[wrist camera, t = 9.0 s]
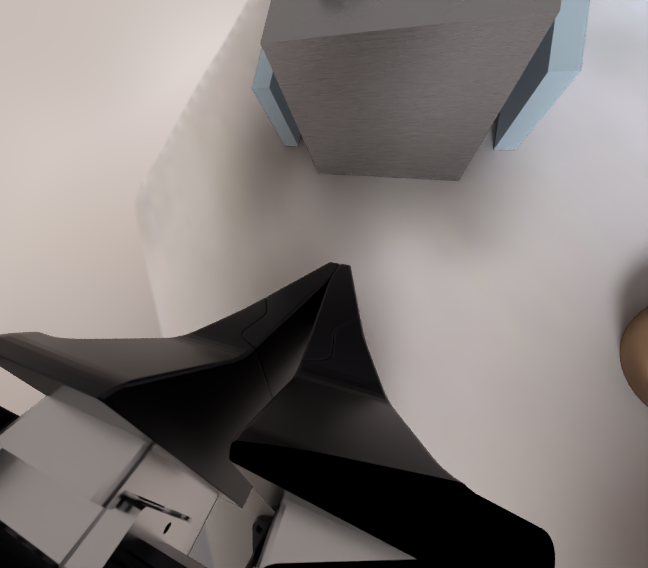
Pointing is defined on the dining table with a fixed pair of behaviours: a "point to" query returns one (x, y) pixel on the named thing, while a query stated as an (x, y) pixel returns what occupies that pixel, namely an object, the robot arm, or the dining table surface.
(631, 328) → the walnut wheel
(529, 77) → the cradle
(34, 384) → the robot arm
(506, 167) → the dining table surface
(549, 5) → the engine block
